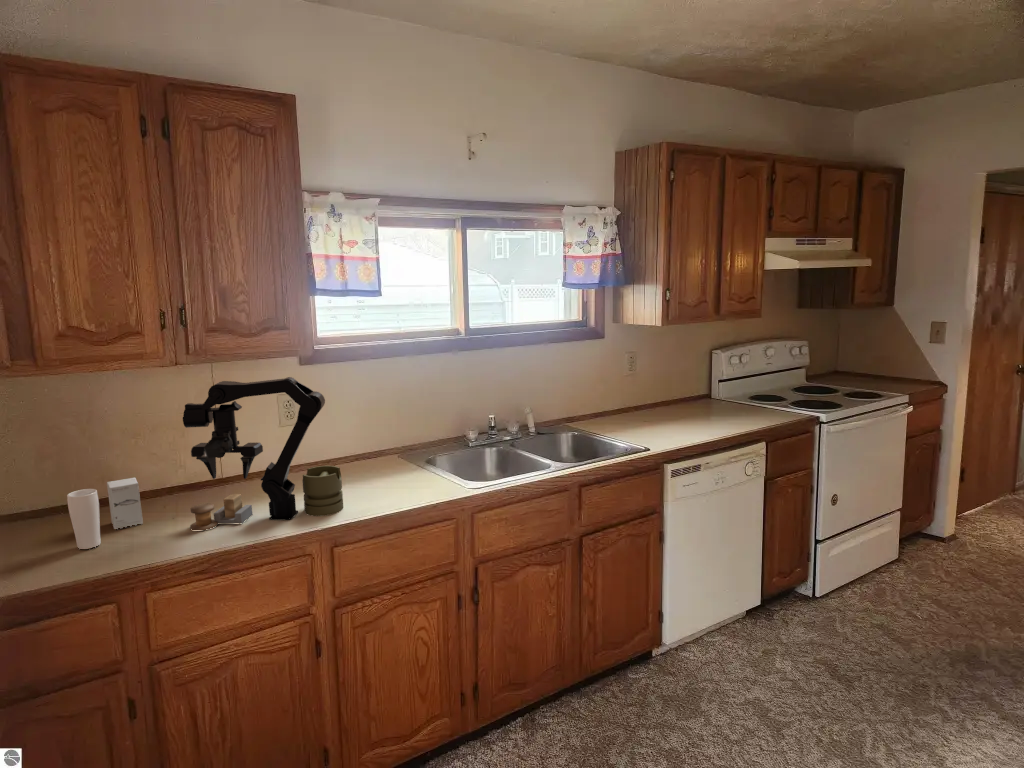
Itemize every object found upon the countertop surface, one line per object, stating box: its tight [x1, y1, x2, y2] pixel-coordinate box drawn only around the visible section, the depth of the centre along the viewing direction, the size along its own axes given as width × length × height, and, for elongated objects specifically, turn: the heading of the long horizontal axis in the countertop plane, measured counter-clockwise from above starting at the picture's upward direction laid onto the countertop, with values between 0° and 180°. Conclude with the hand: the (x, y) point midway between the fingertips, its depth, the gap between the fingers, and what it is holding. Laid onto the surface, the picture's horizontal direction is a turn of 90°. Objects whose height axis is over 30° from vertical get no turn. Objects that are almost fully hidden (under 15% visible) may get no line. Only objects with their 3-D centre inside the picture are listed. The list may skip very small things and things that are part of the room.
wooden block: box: [223, 493, 243, 518], centre depth 192 cm, size 3×4×6 cm, turn 175°
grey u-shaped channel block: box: [213, 504, 254, 524], centre depth 192 cm, size 8×7×3 cm
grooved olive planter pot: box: [302, 465, 344, 517], centre depth 198 cm, size 11×12×11 cm
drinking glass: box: [66, 488, 102, 550], centre depth 173 cm, size 7×7×15 cm
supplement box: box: [106, 477, 144, 530], centre depth 189 cm, size 7×7×13 cm
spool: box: [189, 502, 219, 531], centre depth 186 cm, size 7×7×6 cm
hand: (229, 478), depth 190 cm, fingers open, 9 cm apart
